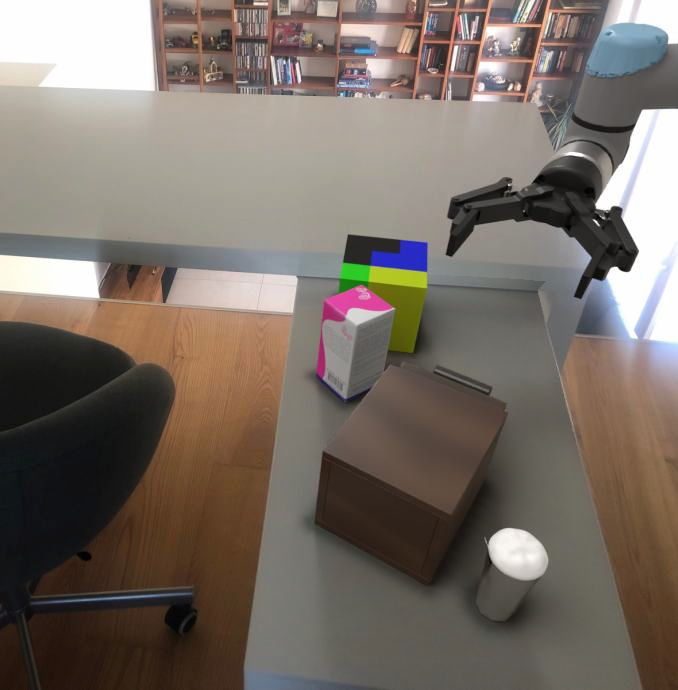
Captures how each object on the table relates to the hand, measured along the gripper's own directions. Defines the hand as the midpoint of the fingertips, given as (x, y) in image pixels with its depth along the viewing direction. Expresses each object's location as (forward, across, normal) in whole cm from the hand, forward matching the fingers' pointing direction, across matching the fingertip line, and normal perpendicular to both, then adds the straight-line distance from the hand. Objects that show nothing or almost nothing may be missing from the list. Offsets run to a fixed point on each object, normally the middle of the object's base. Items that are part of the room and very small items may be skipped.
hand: (513, 265), depth 72 cm
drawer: (+17, 0, -15) cm, 23 cm away
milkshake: (+28, -11, -16) cm, 34 cm away
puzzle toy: (-2, +15, -16) cm, 22 cm away
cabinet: (+22, 0, -16) cm, 28 cm away
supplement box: (+9, +13, -16) cm, 23 cm away
